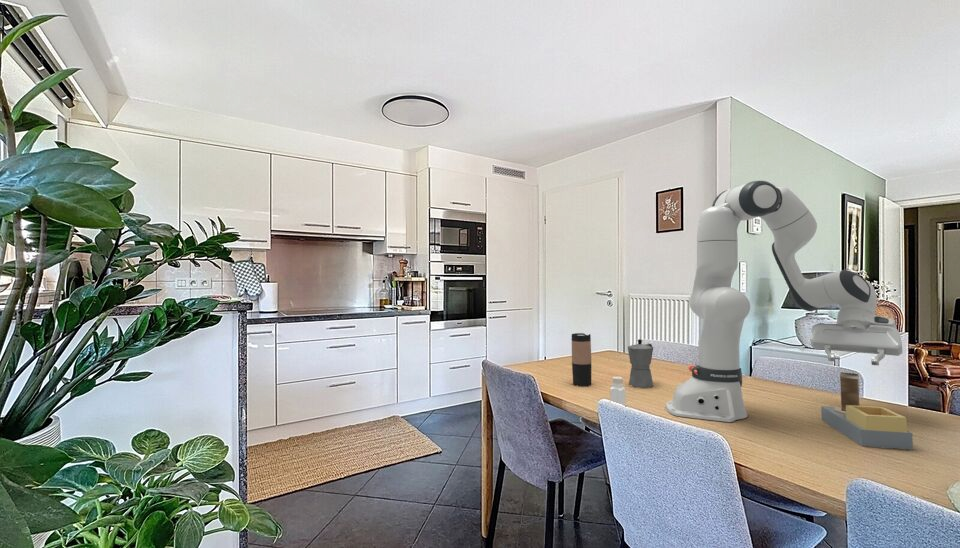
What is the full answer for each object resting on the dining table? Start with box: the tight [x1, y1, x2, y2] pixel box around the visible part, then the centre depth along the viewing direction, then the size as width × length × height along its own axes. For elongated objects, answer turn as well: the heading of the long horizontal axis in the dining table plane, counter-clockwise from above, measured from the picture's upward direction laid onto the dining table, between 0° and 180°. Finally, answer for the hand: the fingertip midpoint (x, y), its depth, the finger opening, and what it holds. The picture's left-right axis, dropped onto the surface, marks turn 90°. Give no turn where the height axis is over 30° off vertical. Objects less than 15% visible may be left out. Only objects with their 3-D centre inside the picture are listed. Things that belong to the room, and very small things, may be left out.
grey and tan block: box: [820, 405, 914, 451], centre depth 112 cm, size 10×20×8 cm, turn 164°
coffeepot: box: [627, 338, 654, 389], centre depth 168 cm, size 15×9×18 cm, turn 128°
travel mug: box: [571, 332, 592, 387], centre depth 170 cm, size 8×8×20 cm
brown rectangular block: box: [839, 371, 860, 411], centre depth 117 cm, size 4×4×10 cm
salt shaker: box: [609, 376, 627, 407], centre depth 140 cm, size 4×4×10 cm
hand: (852, 361), depth 122 cm, fingers open, 8 cm apart
